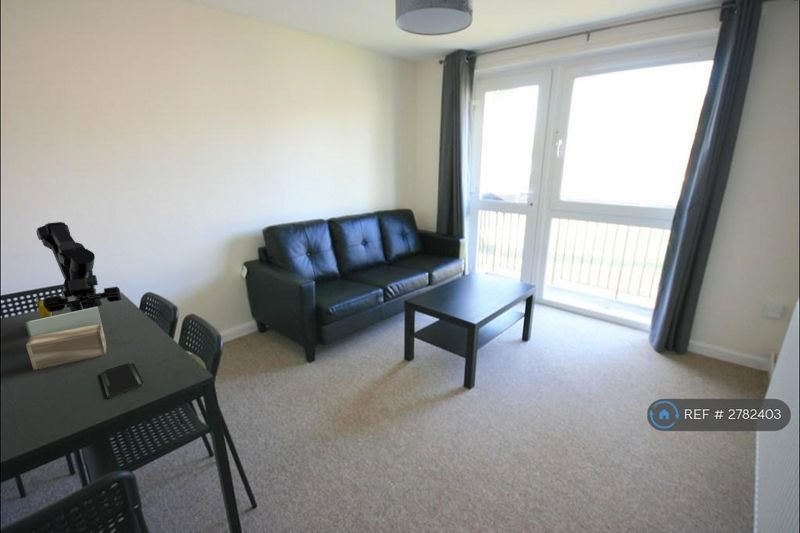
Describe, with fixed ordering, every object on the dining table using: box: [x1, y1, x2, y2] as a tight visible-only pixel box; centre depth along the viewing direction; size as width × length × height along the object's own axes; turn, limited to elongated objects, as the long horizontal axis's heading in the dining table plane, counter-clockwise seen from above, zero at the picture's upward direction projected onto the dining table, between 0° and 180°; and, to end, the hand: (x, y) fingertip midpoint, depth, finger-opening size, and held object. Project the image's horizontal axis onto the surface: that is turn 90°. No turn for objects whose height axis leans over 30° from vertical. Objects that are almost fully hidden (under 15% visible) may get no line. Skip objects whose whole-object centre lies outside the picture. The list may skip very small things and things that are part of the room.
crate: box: [25, 324, 107, 371], centre depth 109 cm, size 6×16×8 cm, turn 125°
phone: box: [99, 362, 145, 399], centre depth 100 cm, size 8×1×15 cm
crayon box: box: [35, 296, 54, 319], centre depth 126 cm, size 7×3×12 cm, turn 42°
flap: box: [24, 307, 107, 343], centre depth 112 cm, size 1×16×12 cm, turn 136°
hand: (87, 322), depth 116 cm, fingers closed
